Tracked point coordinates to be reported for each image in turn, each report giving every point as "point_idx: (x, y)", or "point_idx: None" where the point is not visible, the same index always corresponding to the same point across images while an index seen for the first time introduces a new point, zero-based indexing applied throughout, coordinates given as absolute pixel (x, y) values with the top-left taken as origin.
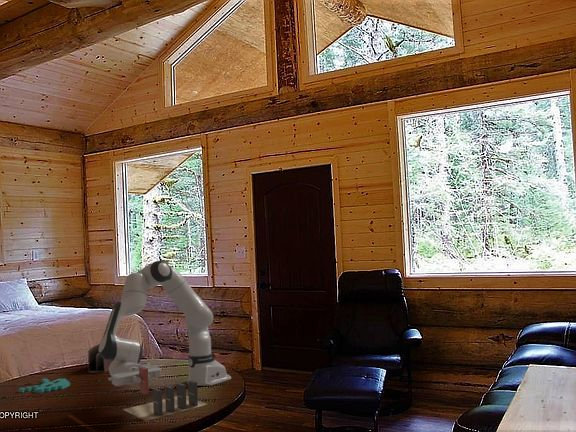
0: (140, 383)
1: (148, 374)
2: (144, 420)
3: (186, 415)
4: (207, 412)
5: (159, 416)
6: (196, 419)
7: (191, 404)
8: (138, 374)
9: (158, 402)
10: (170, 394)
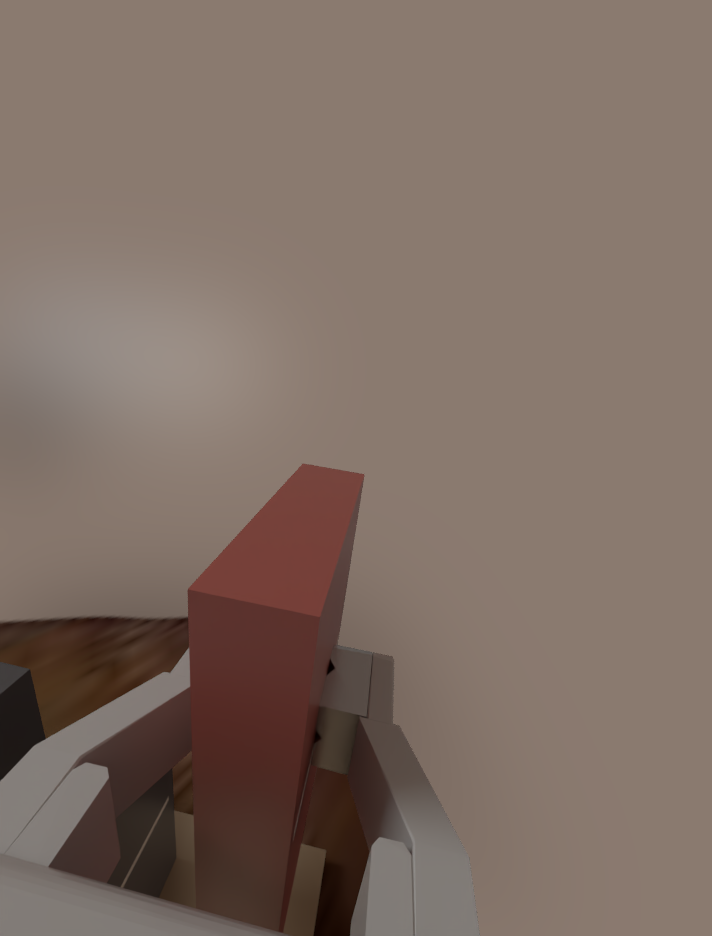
0: (299, 828)
1: (54, 741)
2: (321, 874)
3: (78, 716)
4: (15, 647)
5: (187, 840)
6: (156, 624)
7: None
8: (240, 923)
9: (172, 783)
10: (36, 720)
